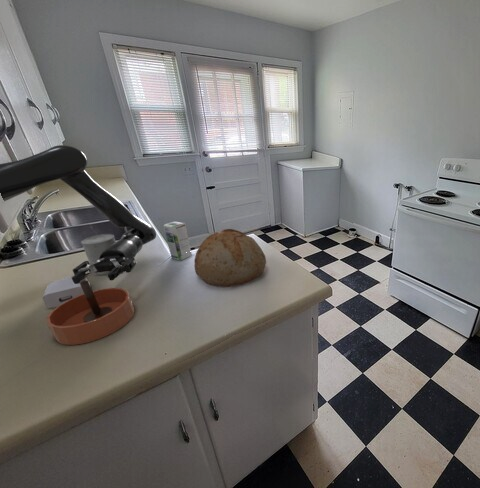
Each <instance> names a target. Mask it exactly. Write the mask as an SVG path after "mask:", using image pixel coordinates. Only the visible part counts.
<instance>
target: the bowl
mask: <svg viewBox="0 0 480 488" xmlns="http://www.w3.org/2000/svg"><path fill="white" fill-rule="evenodd" d="M93 293H94V295H95V297H96V300H97V302H98V304H99V307H100V308H101V307H110V308H112V310H113V311H112V312H110V313H108V314H106V315H104V316H103V317H100V318H98V319H95V320H92V321H90V322H86V323H84V320H83V317H84V316H85V315H86V314H87V313H89V312H90V311H92V310H91V308H90V306H89V303H88V301H87V299H86V297H85V294H81V295H79V296H76V297H74V298H72V299H69V300H68V301H66V302H64V303H62V304H61V305H59V306H57V307H54V308H53V309H52V310H51V311H50V312H49V314H48V315H47V317H46V325H47V326H48V328H49V330H50V333H51V334H52V336H53V338H54V339H55V340H56V341H57V343H60V344H61V345H66V346H75V345H76V346H77V345H82V344H83V345H84V344H88V343H92V342H95V341H98V340H100V339H102V338H105V337H107V336H109V335H112V334H113V333H115V332H117V331H118V330H120V329H122V328H123V327H125V326H126V325H127V324H128V323H129V322H130V321H131V320H132V318H133V317H134V314H135V306H134V303H133V301H132V298H131V295H130V293H129V292H128V290H126V289H124V288H121V287H120V288H119V287H109V288H107V287H106V288H100V289H95V290H93Z"/></svg>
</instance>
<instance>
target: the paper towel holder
mask: <svg viewBox="0 0 480 488" xmlns="http://www.w3.org/2000/svg"><path fill="white" fill-rule="evenodd" d="M80 285H81V287H82V290H83V292H84V294H85V297H86V299H87V301H88V303H89V306H90V308H91V310H92V311H90V312H89V313H87V314H86V315H85V316H84V317H83V320H84V323H86V322H90V321H92V320H95V319H98V318H100V317H103V316H104V315H106V314H108V313H110V312H112V311H113V310H112V308H110V307H101V308H100V307H99V304H98V302H97V300H96V297H95V295H94V293H93V291H94V290H93V288H92V285H91V283H90V281H89V280H88V278H87V279H83V280H81V281H80Z"/></svg>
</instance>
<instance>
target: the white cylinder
mask: <svg viewBox="0 0 480 488" xmlns="http://www.w3.org/2000/svg"><path fill="white" fill-rule="evenodd" d="M115 242H117V241H116V238H115V235H114V234H112V233H103V234H102V233H101V234H96V235H92V236H88V237H86V238H84V239H82V240H80V244H81V245H82V249H83V250H84V252H85V255H86V257H87V261H89V263H93V262H95V261H97V260H99V258H100V255H101V253H102V252H103V251H104V250H106V249H107V248H108V247H109V246H111V245H112V244H113V243H115ZM93 269H94V272H95V271H97V270H96V269H95V267H93ZM109 272H110V271H106V272H101V273H99V274H97V275H96V276H102V275H104V276H105V275H108V273H109Z"/></svg>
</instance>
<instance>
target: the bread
mask: <svg viewBox="0 0 480 488" xmlns="http://www.w3.org/2000/svg"><path fill="white" fill-rule="evenodd" d="M193 261H194V262H193V263H194V265H193V267H194V272H195V273H196V275H197V276H198V277H200V280H202V281H203V282H204V283H205V284H207V285H209V286H213V287H220V288H221V287H222V288H231V287H236V286H240V285H245V284H246V283H249V282H251V281H252V280H254V279H255V278H256V277H258V276H260V275H261V274H262V272H263V271H264V270H265V268H266V264H267V259H266V255H265V253H264V251H263V250H262V248H261V246H260V245H259V243H258V242H257V240H255V239H254V238H253V237H252V236H250V235H246V234H245V233H244V232H242V231H240V230H237V229H234V228H225V229H222V230H221V231H219V232H217V231H215V232H213V233H211V234H209V235H208V236H207V237H206V238H205V239H204V240H203V241H202V243H200V245H199V247H198V248H197V250H196V253H195V255H194V260H193Z"/></svg>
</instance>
